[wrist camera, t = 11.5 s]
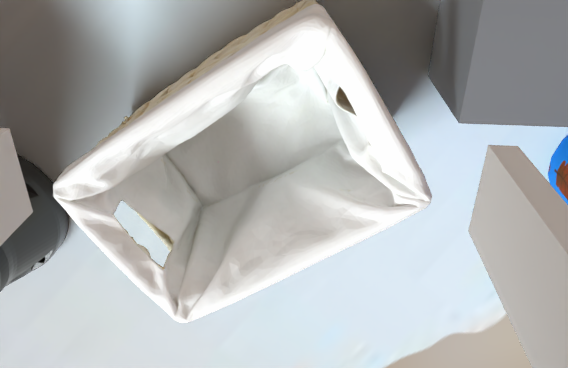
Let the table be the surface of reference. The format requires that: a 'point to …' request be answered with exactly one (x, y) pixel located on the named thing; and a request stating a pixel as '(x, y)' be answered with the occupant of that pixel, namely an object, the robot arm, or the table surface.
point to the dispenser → (502, 61)
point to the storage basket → (249, 168)
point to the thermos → (560, 170)
